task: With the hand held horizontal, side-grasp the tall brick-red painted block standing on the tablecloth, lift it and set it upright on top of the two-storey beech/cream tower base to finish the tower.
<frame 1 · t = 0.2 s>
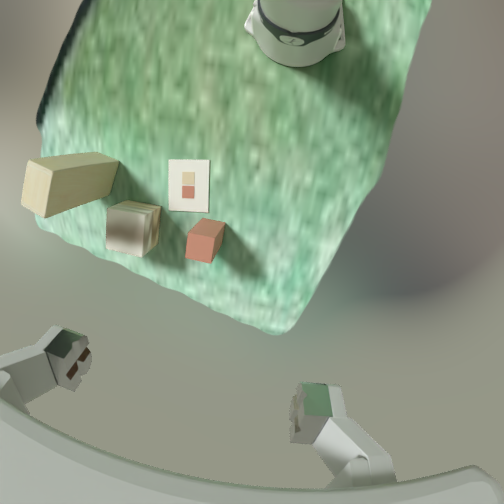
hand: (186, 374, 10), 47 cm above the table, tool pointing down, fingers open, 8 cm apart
tall brick: (212, 231, 58), on the table
tower base: (142, 221, 59), on the table
instruction page: (188, 185, 55), on the table
tall beige pillar: (102, 172, 56), on the table
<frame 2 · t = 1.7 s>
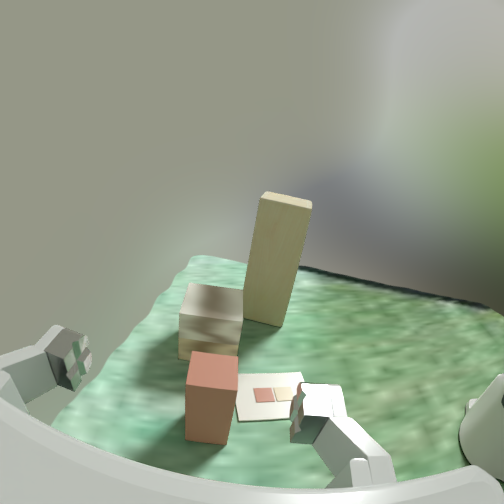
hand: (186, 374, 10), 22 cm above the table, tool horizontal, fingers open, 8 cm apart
tall brick: (207, 427, 30), on the table
tower base: (208, 344, 43), on the table
instruction page: (272, 395, 36), on the table
tall beige pillar: (263, 312, 54), on the table
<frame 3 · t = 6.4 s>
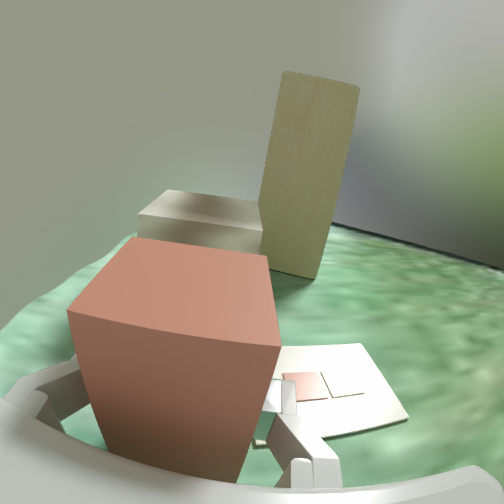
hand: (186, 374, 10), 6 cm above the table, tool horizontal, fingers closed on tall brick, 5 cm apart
tall brick: (181, 459, 11), on the table, touching gripper
tower base: (196, 298, 25), on the table
instruction page: (321, 386, 18), on the table
tall beige pillar: (284, 261, 36), on the table
when the fingers open (15 cm above the table, at t = 11.4 s): tall brick drops 1 cm, resting on tower base.
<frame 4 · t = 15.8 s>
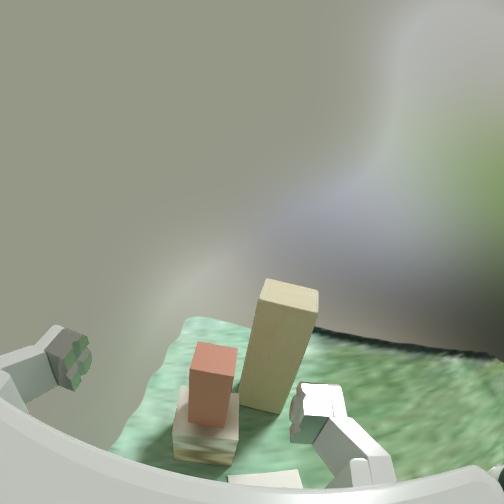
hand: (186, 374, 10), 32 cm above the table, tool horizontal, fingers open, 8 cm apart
tall brick: (208, 412, 34), point 8 cm above the table, touching tower base
tower base: (204, 441, 37), on the table
instruction page: (268, 496, 29), on the table
tall beige pillar: (261, 395, 48), on the table
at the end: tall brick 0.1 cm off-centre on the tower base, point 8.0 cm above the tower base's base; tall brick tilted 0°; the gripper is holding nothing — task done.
